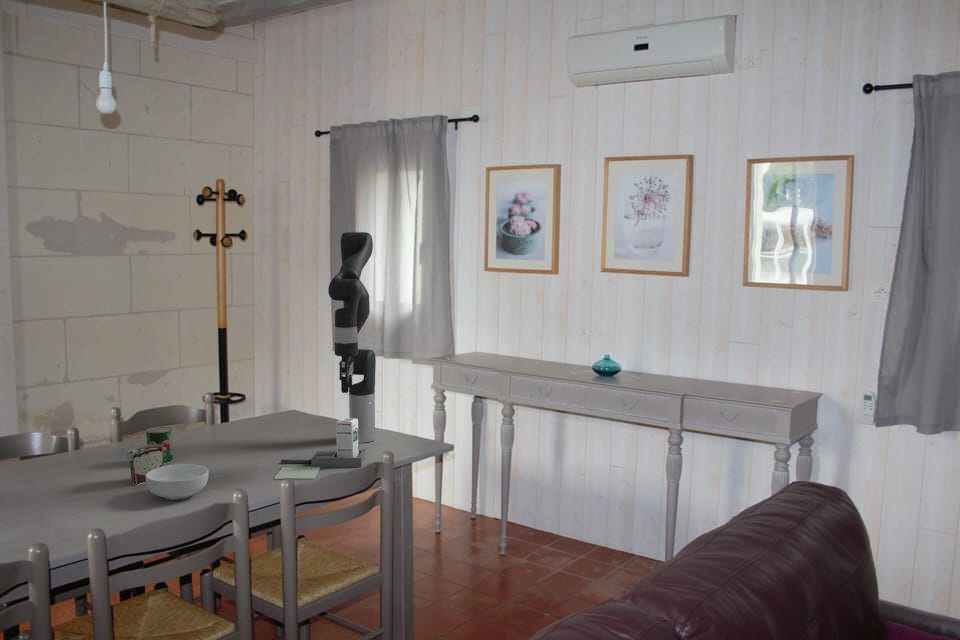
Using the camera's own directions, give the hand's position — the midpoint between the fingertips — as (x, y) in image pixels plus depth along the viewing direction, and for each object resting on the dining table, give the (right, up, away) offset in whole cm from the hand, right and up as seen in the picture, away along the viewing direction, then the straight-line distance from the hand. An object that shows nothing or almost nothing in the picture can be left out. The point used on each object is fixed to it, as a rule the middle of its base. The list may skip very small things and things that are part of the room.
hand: (346, 390), depth 267 cm
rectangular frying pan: (-9, -24, +2) cm, 26 cm away
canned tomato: (-62, -24, +3) cm, 67 cm away
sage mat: (-14, -25, -10) cm, 31 cm away
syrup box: (0, -24, +3) cm, 24 cm away
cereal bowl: (-43, -28, -31) cm, 60 cm away
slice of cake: (-60, -26, -16) cm, 67 cm away
